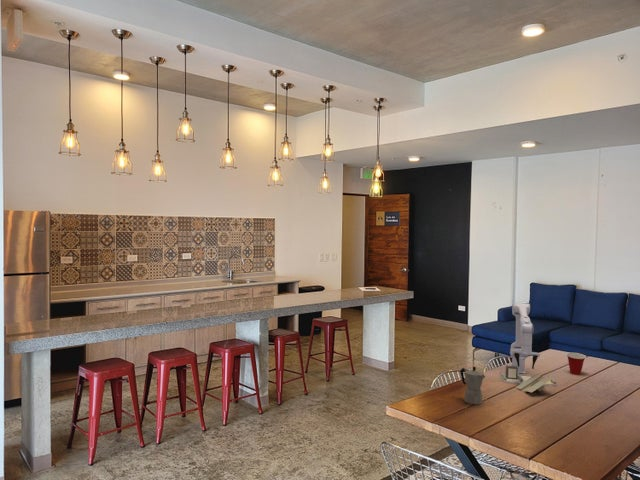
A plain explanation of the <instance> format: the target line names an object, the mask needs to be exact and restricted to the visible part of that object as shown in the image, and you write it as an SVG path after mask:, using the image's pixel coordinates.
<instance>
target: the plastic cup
mask: <svg viewBox="0 0 640 480" xmlns="http://www.w3.org/2000/svg"><path fill="white" fill-rule="evenodd" d="M566 356H567V360H568V361H567V362H568V366H569V372H570V374H572V375H577V376H579V375H581V373H582V370H583V365H584V362H585V359H586V357H587V356H586V355H585V354H582V353H579V352H567V353H566Z"/></svg>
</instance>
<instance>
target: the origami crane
mask: <svg viewBox="0 0 640 480" xmlns="http://www.w3.org/2000/svg"><path fill="white" fill-rule="evenodd" d="M530 377H531V378H529V379H528V380H526V381H525V382H523V383H519V384H518V385H517V386H515V389H518V390H521V392H525V393H526V392H529V393H533V392H534V391H537V392H539V393H540V392H542V391H543V390H544V389H545V385H544V384H545V383H547V382H548V381H550V380H551V379H554V378H553V377H552V378H549V377H548V376H545V377H544V376H542V374H537V373H536V374H534V376H532V375H531V376H530Z"/></svg>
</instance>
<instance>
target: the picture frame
mask: <svg viewBox="0 0 640 480" xmlns="http://www.w3.org/2000/svg"><path fill="white" fill-rule="evenodd" d="M505 375H506V378H507V379H517V375H518V367H517V366H512V365H505Z"/></svg>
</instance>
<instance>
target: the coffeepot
mask: <svg viewBox="0 0 640 480" xmlns="http://www.w3.org/2000/svg"><path fill="white" fill-rule="evenodd" d="M476 369H477V367H476V366H472V369H470V370H469V369H467V368H464V367H462V368H461V369H460V372H459V373H460V377H461V380H462V384H463V385H465V386H466V389H465V394H464V398H463V401H464V402H465V403H467V404H469V405H482V403H483V394H482V390H481V387H482V384H483V380H484V379H485V378H486V375H484V372H481V370H476Z"/></svg>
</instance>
